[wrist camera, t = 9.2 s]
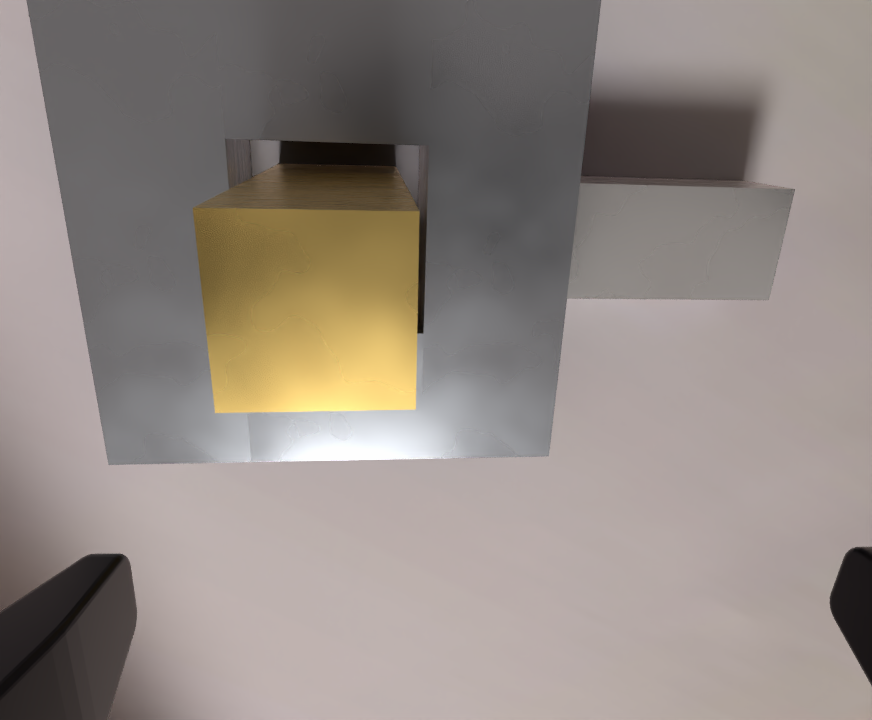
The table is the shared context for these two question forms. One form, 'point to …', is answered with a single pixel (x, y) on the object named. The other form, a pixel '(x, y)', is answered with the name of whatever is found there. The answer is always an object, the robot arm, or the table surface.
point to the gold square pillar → (311, 290)
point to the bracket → (437, 202)
